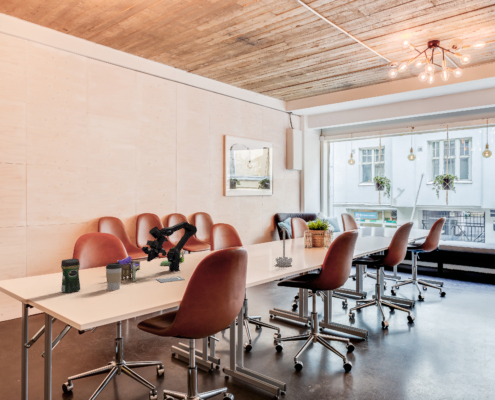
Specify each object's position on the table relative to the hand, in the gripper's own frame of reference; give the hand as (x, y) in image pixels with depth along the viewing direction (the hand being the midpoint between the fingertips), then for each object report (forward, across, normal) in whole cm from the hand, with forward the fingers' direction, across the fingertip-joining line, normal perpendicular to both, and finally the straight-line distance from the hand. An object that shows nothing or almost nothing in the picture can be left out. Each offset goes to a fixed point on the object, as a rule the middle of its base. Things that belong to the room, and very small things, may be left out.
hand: (148, 261), depth 259 cm
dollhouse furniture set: (-26, -20, +43) cm, 54 cm away
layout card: (+7, +19, +8) cm, 21 cm away
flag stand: (-52, +61, +70) cm, 106 cm away
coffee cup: (+31, +6, -18) cm, 36 cm away
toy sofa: (+5, -23, +10) cm, 25 cm away
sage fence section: (+15, -1, -2) cm, 15 cm away
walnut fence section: (+17, -9, -3) cm, 20 cm away
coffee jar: (+43, -11, -29) cm, 53 cm away
